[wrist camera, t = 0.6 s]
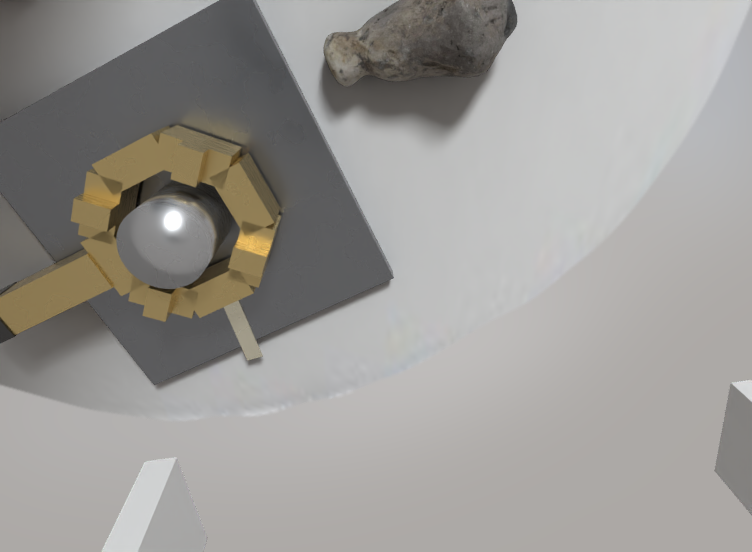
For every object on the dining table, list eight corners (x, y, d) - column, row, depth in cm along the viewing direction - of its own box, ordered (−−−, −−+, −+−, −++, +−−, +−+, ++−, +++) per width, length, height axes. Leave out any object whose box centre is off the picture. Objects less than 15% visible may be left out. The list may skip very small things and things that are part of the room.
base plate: (-26, 140, 33) (-119, 164, 27) (249, -13, 31) (220, -27, 24) (170, 389, 42) (135, 454, 35) (400, 287, 39) (410, 337, 32)
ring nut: (218, 99, 31) (199, 107, 28) (306, 253, 36) (300, 278, 32) (-48, 239, 34) (-99, 264, 30) (63, 366, 38) (30, 402, 35)
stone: (327, 86, 34) (407, 160, 31) (295, 22, 29) (387, 103, 26) (442, -13, 34) (532, 51, 31) (430, -94, 29) (537, -27, 26)
